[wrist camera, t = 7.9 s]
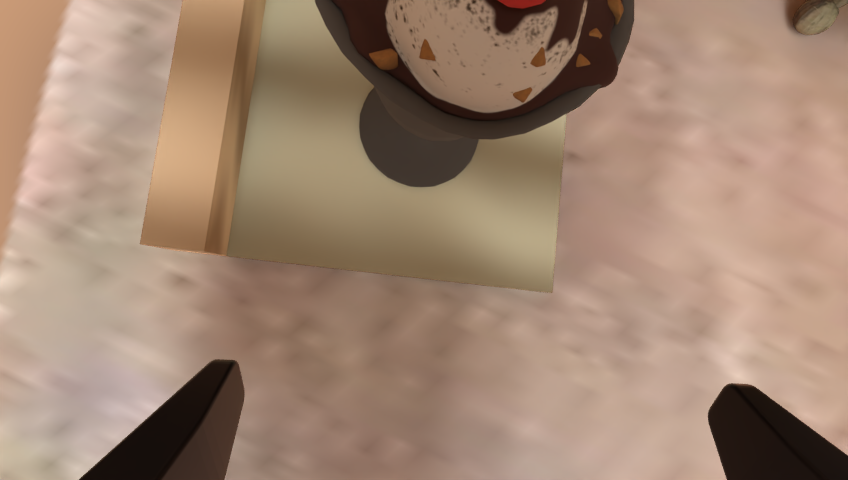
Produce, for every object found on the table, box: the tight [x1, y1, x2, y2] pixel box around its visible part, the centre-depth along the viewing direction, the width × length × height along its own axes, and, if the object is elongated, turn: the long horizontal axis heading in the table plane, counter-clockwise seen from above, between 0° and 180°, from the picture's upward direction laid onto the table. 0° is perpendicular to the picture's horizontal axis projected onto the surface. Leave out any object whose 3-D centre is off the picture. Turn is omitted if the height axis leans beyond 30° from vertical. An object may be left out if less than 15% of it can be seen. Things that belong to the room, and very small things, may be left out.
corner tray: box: [140, 0, 567, 293], centre depth 18 cm, size 15×17×3 cm
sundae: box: [315, 0, 634, 187], centre depth 12 cm, size 7×7×15 cm
